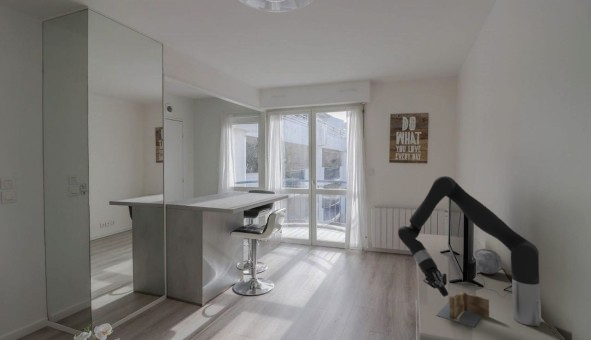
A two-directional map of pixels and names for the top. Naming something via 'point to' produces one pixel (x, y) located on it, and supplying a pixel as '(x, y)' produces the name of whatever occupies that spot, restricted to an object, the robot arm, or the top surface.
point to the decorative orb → (487, 261)
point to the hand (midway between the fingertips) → (446, 295)
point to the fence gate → (456, 304)
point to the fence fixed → (476, 304)
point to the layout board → (460, 316)
